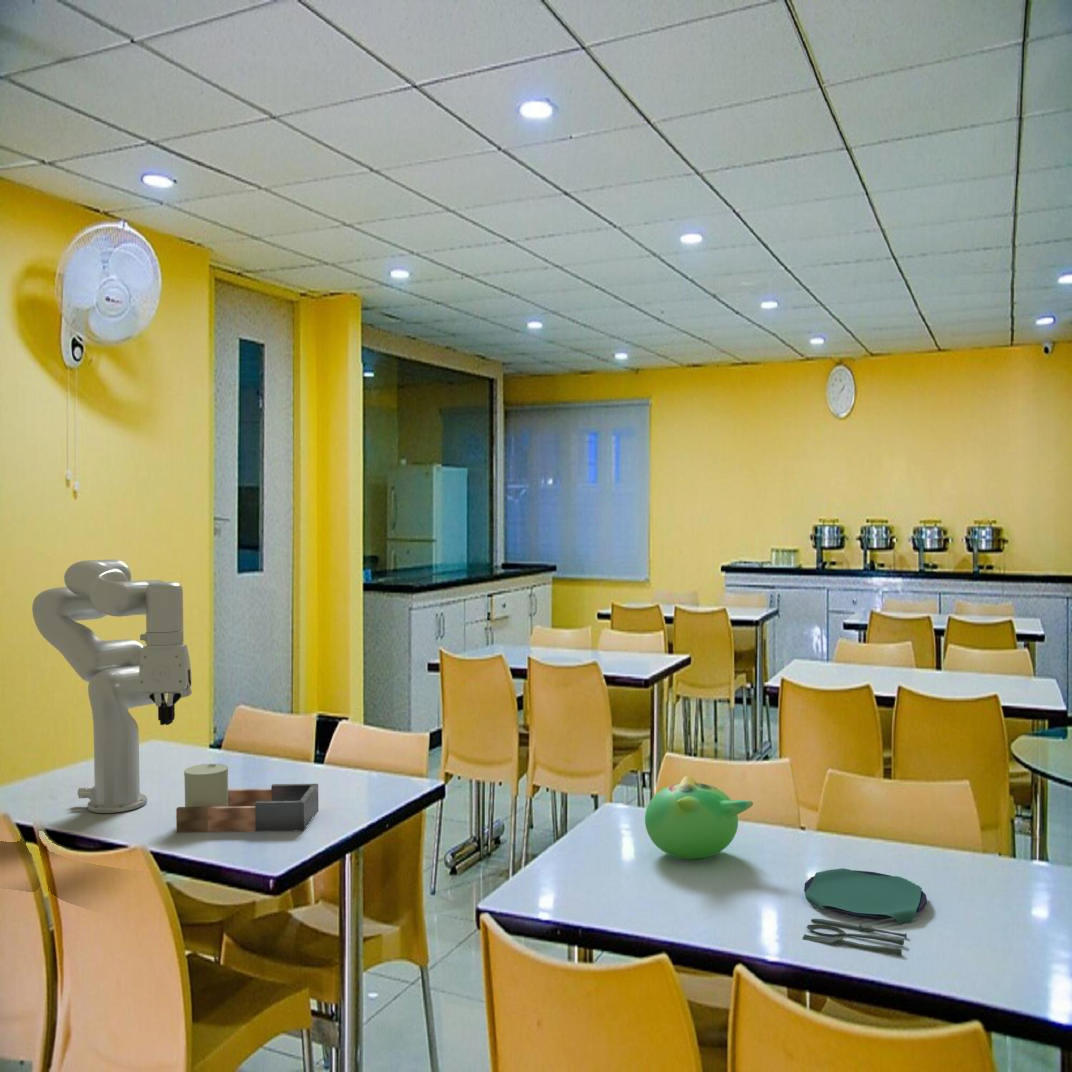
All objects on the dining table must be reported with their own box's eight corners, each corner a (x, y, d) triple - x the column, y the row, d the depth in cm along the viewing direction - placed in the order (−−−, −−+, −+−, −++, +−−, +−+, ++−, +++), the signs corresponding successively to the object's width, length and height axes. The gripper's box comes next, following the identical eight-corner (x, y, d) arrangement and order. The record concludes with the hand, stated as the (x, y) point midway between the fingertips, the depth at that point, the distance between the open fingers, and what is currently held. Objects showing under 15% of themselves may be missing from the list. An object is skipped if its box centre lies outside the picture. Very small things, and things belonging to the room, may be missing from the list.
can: (236, 815, 213) (235, 761, 213) (218, 828, 204) (217, 772, 204) (196, 814, 214) (195, 761, 214) (176, 827, 205) (175, 771, 205)
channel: (176, 832, 202) (176, 808, 202) (199, 811, 216) (199, 789, 216) (255, 831, 202) (255, 807, 202) (273, 810, 217) (272, 788, 217)
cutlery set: (932, 891, 168) (932, 877, 168) (915, 965, 141) (914, 949, 141) (815, 873, 177) (815, 861, 177) (778, 940, 150) (778, 926, 150)
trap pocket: (255, 831, 202) (255, 803, 202) (273, 810, 217) (272, 784, 217) (304, 830, 202) (303, 802, 202) (318, 810, 217) (318, 783, 217)
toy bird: (710, 837, 197) (710, 765, 196) (757, 864, 181) (757, 786, 181) (631, 848, 190) (630, 774, 190) (673, 878, 174) (673, 797, 174)
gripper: (123, 641, 205) (124, 727, 205) (193, 641, 205) (195, 726, 205) (137, 637, 212) (138, 720, 212) (205, 636, 212) (206, 719, 213)
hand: (166, 723), depth 209 cm, fingers closed
